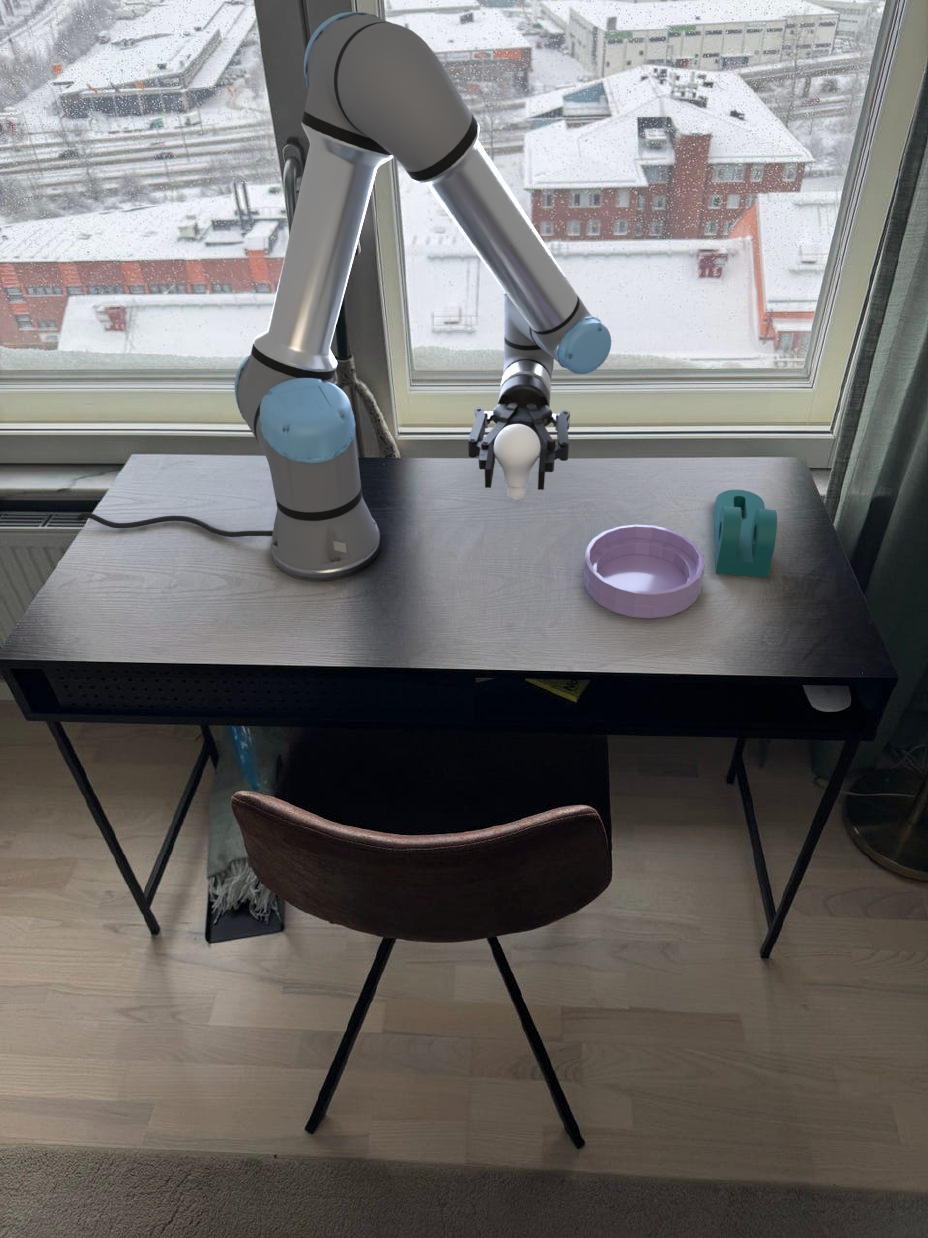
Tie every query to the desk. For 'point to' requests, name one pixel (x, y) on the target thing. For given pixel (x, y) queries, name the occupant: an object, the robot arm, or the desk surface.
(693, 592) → the bowl
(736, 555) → the bracket
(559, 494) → the desk surface
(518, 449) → the lightbulb
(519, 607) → the desk surface
